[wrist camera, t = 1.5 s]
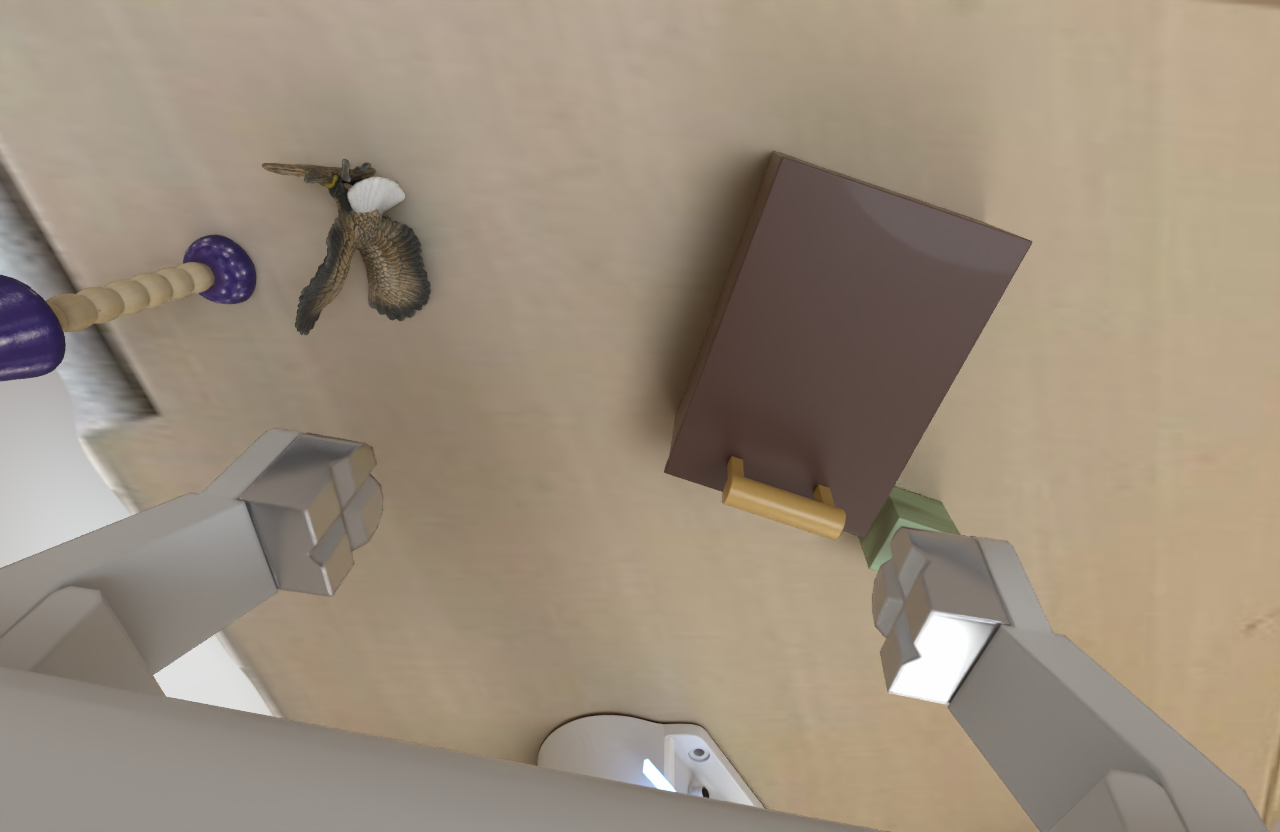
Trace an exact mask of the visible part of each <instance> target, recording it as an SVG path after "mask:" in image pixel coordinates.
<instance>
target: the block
mask: <svg viewBox="0 0 1280 832" xmlns="http://www.w3.org/2000/svg"><path fill="white" fill-rule="evenodd" d="M901 526H904V527H911V528H917V529H924V530H931V531H938V532H945V533H951V534H958V535H960V533H959V531H958V530H957V528H956V526H955V524H954V523H953V521H952V519H951V517H950V516H949V514H948V512H947V510H946V509H945V507H944V505H943V504H942V502H939V501H936V500H933V499H930V498H927V497H924V496H921V495H918V494H915V493H912V492H909V491H906V490H903V489H900V488H897V487H893V488H892V490H891V492H890V494H889V495H888V497H887V499H886V501H885V502H884V504H883V506H882V508H881V510H880V511H879V513H878V515H877V517H876V518H875V520H874V522H873V524H872V525H871V527H870V529H869V531H868V532H867V534H866V536H865V537H864V538H863V537H860V536H858V537H859V540H860V543H861V546H862V549H863V552H864V555H865V558H866V561H867V564H868V567H869V569H871V570H875V571H878V570H879V568H880V565H881V564H883V563H885V562H886V561H888V560H890V559H892V558H893V557H892V553H891V548H890V542H891V540H892V538H893V536H894V534H895V532H896V531H897V530H898V529H899V528H900V527H901Z"/></svg>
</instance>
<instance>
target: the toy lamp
mask: <svg viewBox="0 0 1280 832" xmlns="http://www.w3.org/2000/svg"><path fill="white" fill-rule="evenodd" d="M255 283H256V273H255V270H254V266H253V264H252V262H251V260H250V258H249V257H248V256H247V254H246V253H245V252H244V251H243V249H242V248H241V247H240V246H239V245H237V244H236V243H234V242H233V241H232V240H230V239H228V238H226V237H223V236H219V235H209V236H205V237H202V238H200V239H198V240H196V241H195V242H194V243H192V245H191V246H189V248H188V250H187V251H186V253H185V255H184V259H183V264H181V265H179V266H178V267H177V268H164V269H161V270H159V271H157V272H156V273H154V274H153V273H145V274H140V275H137V276H134V277H133V278H132V279H130V280H118V281H114V282H111V283H109V284H107V285H105V286H104V287H90V288H86V289H83V290H81V291H79V292H78V293H77V294H61V295H57V296H54V297H52V298H50V299H49V300H47V301H45V300H44V299H43V298H42V297H41V296H40V295H39V294H37V293H36V292H35V291H34V290H32V289H31V287H29V286H28V285H26V284H24V283H22V282H20V281H18V280H16V279H14V278H11V277H7V276H4V275H0V381H7V380H16V379H25V378H33V377H38V376H42V375H45V374H48V373H50V372H52V371H53V370H54V369H56V367H57V366H58V365H59V364H60V363H61V362H62V360H63V358H64V354H65V346H66V344H65V336H64V332H75V331H80V330H83V329H85V328H87V327H89V326H90V325H92V324H93V323H105V322H109V321H111V320H114V319H116V318H117V317H118V316H119V315H132V314H136V313H138V312H140V311H142V310H143V309H144V308H146V307H157V306H160V305H162V304H164V303H166V302H167V301H168V300H177V299H182V298H184V297H186V296H188V295H189V294H190V293H198V294H200V295H201V296H203V297H204V298H206V299H208V300H210V301H213V302H216V303H222V304H235V303H240V302H243V301H245V300H247V299H248V298H249V297H250V296H251V294H252V292H253V291H254V289H255Z"/></svg>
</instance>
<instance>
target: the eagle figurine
mask: <svg viewBox="0 0 1280 832" xmlns="http://www.w3.org/2000/svg"><path fill="white" fill-rule="evenodd" d="M262 167H263V168H264V169H265V170H267V171H271V172H274V173H277V174H282V175H293V176H297V177H305V178H304V181H305V182H306V183H319V184H321V185H322V186H325V187H327V188H328V189H329V192H330V194H331V196H332V197H333V198H334V199H335V201H336V203H337V207H338V213H339V216H338V218H336V219H335V224H333V225H332V227H331V229H330V231H329V235H328V237H327V239H326V244H327V246H328V248H327V256H326V257H325V259H324V263H323V264H321V265H320V266H319V267H318V271H317V273H316V276H315V277H314V278H312V279H311V281H310V284H309V285H308V286H306V287H305V288H304V289H303V290H302V292H301V294H302V295H301V296H300V297H299V301H300V303H299V304H298V310H297V316H296V323H295V327H296V328H297V331H298V332H300V334H301V335H303V333H304V334H305V335H308V334H309V331H310V330H311V329H313V327H314V325H315V321H317V320H318V318H319V315H320V313H321V311H322V309H323V308H324V307H326V306H327V305H328V304H329V303H330V302H331V301H332V300H333V299H334V298H335V297H336V296H337V295H338V293H339V292H340V290H341V288H342V285H343V283H344V281H345V279H346V276H347V274H348V271H349V268H350V263H351V260H352V256H353V253H354V251H355V249H356V248H357V249H358V250H359V251H360V253H361V255H362V258H363V261H364V263H365V266H366V270H367V276H368V282H369V305H370V307H371V308H373V309H374V308H375V309H377V311H378V312H379V313H380V314H381V315H384V314H386V315H387V317H388V318H389V319H390V320H394V319H398V320H399V321H403V320H404V318H405V317H406V316H407V317H409V318H411V317H412V316H413V315H414V313H415V309H416V310H418V311H419V310H421V309H422V305H425V304H427V301H428V299H429V294H430V289H429V287H430V282H428V281H427V272H426V271H425V270H424V269H423V267H424V264H423V259H422V257H421V256H420V253H421V248H420V247H421V243H420V242H419V241H418V238H417V237H416V236H415V235H414V232H413V230H412V229H411V228H409V227H408V226H407V225H400V224H399V223H398V222H396V221H394V222H392V221H391V220H390V218H389V217H386V216H384V215H383V214H384V213H385V212H386V211H388V210H389V209H390V208H392V207H393V206H395V205H396V204H398V203H400V202H402V201H403V200H404V199H405V193H404V191H403V190H402V189H401V187H400V186H399V184H398V182H396V181H394V180H390V179H388V178H385V177H378V176H373V173H374V172H375V169H373V168H370V167H371V164H370V163H367V162H366V163H364V164H363V165H362V166H360V167H358V166H357V167H356V168H354V169H349V161H348V160H346V159H343V160H342V168H336V167H323V166H315V165H289V164H276V163H264V164H262ZM343 183H347V184H350V185H352V186H353V187H351V188H350V189H349V190H348V189H346V188H345V186H344V184H343Z"/></svg>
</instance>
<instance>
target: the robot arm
mask: <svg viewBox="0 0 1280 832" xmlns="http://www.w3.org/2000/svg"><path fill="white" fill-rule="evenodd" d="M376 464H377V463H376V459H375V455H374V451H373V447H371V446H370V445H368V444H366V443H362V442H357V441H351V440H346V439H340V438H335V437H329V436H323V435H318V434H312V433H303V432H297V431H292V430H287V429H281V428H274V429H271V430H268V431H266V432H265V433H264V434H262V435H261V436H260V437H259V438H258V439H257V440H256V441H255V442H254V443H253V444H252V445H251V446H250V447H249V448H248V449H247V450H246V451H245V452H244V453H243V454H241V455H240V456H239V457H238V458H237V459H236V460H235V461H234V462H233V463H232V464H231V465H230V466H229V467H228V468H227V469H226V470H225V471H224V472H223V473H222V474H221V475H219V476H218V477H217V478H216V479H215V480H214V481H213V482H212V483H211V484H210V485H209V486H208V487H207V488H206V489H205V490H204V491H203V492H202V493H201V494H197V493H188V494H185V495H183V496H180V497H178V498H175V499H173V500H170V501H168V502H165V503H163V504H160V505H158V506H155V507H153V508H150V509H148V510H145V511H143V512H140V513H138V514H135V515H133V516H130V517H128V518H125V519H123V520H120V521H117V522H115V523H112V524H110V525H107V526H105V527H102V528H100V529H98V530H96V531H92V532H90V533H88V534H85V535H82V536H80V537H77V538H75V539H72V540H70V541H67V542H65V543H62V544H60V545H58V546H55V547H52V548H50V549H47V550H45V551H43V552H40V553H38V554H35V555H32V556H30V557H27V558H25V559H22V560H20V561H17V562H15V563H12V564H10V565H7V566H5V567H2V568H0V832H889V831H883V830H878V829H873V828H867V827H862V826H857V825H851V824H846V823H840V822H835V821H830V820H824V819H819V818H814V817H808V816H803V815H797V814H792V813H787V812H781V811H776V810H771V809H765V808H764V807H763V805H762V804H761V803H760V802H759V800H758V799H757V798H756V796H755V795H754V794H753V792H752V791H751V790H750V788H749V787H748V786H747V784H746V783H745V782H744V780H743V779H742V778H741V776H740V775H739V774H738V772H737V771H736V770H735V769H734V767H733V766H732V765H731V763H730V762H729V761H728V759H727V758H726V757H725V755H724V754H723V753H722V751H721V750H720V749H719V747H718V746H717V745H716V743H715V742H714V741H713V740H712V738H711V737H710V736H709V734H708V733H707V732H706V731H705V730H704V729H703V728H702V727H700V726H698V725H693V724H658V723H653V722H649V721H646V720H642V719H638V718H633V717H627V716H619V715H598V716H590V717H585V718H581V719H577V720H574V721H572V722H569V723H567V724H565V725H563V726H561V727H560V728H558V729H556V730H555V731H554V732H553V733H552V734H550V735H549V736H548V738H547V739H546V740H545V741H544V743H543V745H542V746H541V749H540V751H539V755H538V766H535V765H530V764H524V763H519V762H514V761H508V760H503V759H498V758H492V757H487V756H482V755H476V754H471V753H465V752H460V751H455V750H449V749H444V748H439V747H433V746H428V745H423V744H417V743H412V742H406V741H401V740H396V739H390V738H385V737H380V736H374V735H369V734H364V733H358V732H353V731H347V730H342V729H337V728H331V727H326V726H321V725H315V724H310V723H304V722H299V721H294V720H288V719H283V718H278V717H272V716H267V715H261V714H256V713H250V712H245V711H240V710H234V709H229V708H224V707H218V706H213V705H208V704H202V703H197V702H192V701H186V700H180V699H176V698H170V697H166V696H165V694H164V693H163V691H162V689H161V688H160V686H159V685H158V683H157V682H156V680H155V678H154V677H153V675H154V674H155V673H157V672H158V671H160V670H161V669H163V668H164V667H166V666H167V665H169V664H170V663H171V662H173V661H175V660H176V659H178V658H179V657H181V656H182V655H184V654H185V653H187V652H188V651H190V650H192V649H193V648H195V647H196V646H198V645H199V644H201V643H202V642H203V641H205V640H207V639H208V638H210V637H211V636H213V635H214V634H216V633H217V632H219V631H220V630H222V629H223V628H225V627H226V626H228V625H229V624H231V623H232V622H234V621H235V620H237V619H238V618H240V617H241V616H243V615H244V614H246V613H247V612H249V611H250V610H252V609H253V608H255V607H256V606H258V605H259V604H261V603H262V602H264V601H265V600H267V599H268V598H270V597H271V596H273V595H274V594H276V593H277V592H278V590H277V589H280V590H287V591H294V592H301V593H308V594H315V595H322V596H329V597H332V596H333V595H334V593H335V592H336V590H337V589H338V587H339V586H340V584H341V583H342V581H343V580H344V578H345V577H346V575H347V574H348V572H349V571H350V569H351V568H352V566H353V565H354V560H353V555H352V551H353V550H355V549H357V548H359V547H361V546H362V545H364V544H366V543H368V542H369V541H370V539H371V537H372V536H373V534H374V533H375V531H376V529H377V527H378V524H379V521H380V518H381V515H382V511H383V493H382V487H381V485H380V483H379V482H378V481H377V480H376V479H375V478H374V477H373V476H372V475H371V474H370V472H371V471H372V470H373V468H374V467H375V465H376ZM890 548H891V553H892V557H893V558H892V559H890V560H888V561H886V562H885V563H883V564H881V565H880V568H879V570H878V573H877V575H876V578H875V581H874V588H873V594H872V612H873V618H874V624H875V627H876V628H877V629H878V630H879V631H880V632H881V633H882V635H883V636H884V637H885V638H886V640H885V642H884V644H883V646H882V648H881V651H880V656H881V661H882V666H883V671H884V676H885V681H886V686H887V691H888V693H892V694H897V695H902V696H907V697H912V698H917V699H922V700H927V701H932V702H937V703H942V704H947V705H949V706H948V707H947V708H948V709H949V710H950V712H951V713H952V714H953V716H954V717H955V718H956V720H957V721H958V722H959V724H960V725H961V726H962V728H963V729H964V730H965V732H966V733H967V734H968V736H969V737H970V738H971V740H972V741H973V742H974V744H975V745H976V746H977V748H978V749H979V750H980V752H981V753H982V754H983V756H984V757H985V758H986V760H987V761H988V762H989V764H990V765H991V766H992V768H993V769H994V770H995V772H996V773H997V775H998V776H999V777H1000V779H1001V780H1002V781H1003V783H1004V784H1005V785H1006V787H1007V788H1008V789H1009V791H1010V792H1011V793H1012V795H1013V796H1014V797H1015V799H1016V800H1017V801H1018V803H1019V804H1020V805H1021V807H1022V808H1023V809H1024V811H1025V812H1026V813H1027V815H1028V816H1029V817H1030V819H1031V820H1032V821H1033V823H1034V824H1035V825H1036V827H1037V828H1038V829H1039V831H1040V832H1269V830H1268V829H1267V827H1266V825H1265V824H1264V822H1263V820H1262V819H1261V817H1260V815H1259V814H1258V812H1257V810H1256V809H1255V807H1254V805H1253V804H1252V802H1251V800H1250V798H1249V797H1248V795H1247V793H1246V792H1245V790H1244V789H1243V788H1242V787H1240V786H1239V785H1238V784H1237V783H1236V782H1235V781H1233V780H1232V779H1231V778H1230V777H1229V776H1228V775H1226V774H1225V773H1224V772H1223V771H1222V770H1221V769H1220V768H1218V767H1217V766H1216V765H1215V764H1214V763H1213V762H1211V761H1210V760H1209V759H1208V758H1207V757H1206V756H1204V755H1203V754H1202V753H1201V752H1200V751H1199V750H1197V749H1196V748H1195V747H1194V746H1193V745H1192V744H1190V743H1189V742H1188V741H1187V740H1186V739H1185V738H1183V737H1182V736H1181V735H1180V734H1179V733H1178V732H1176V731H1175V730H1174V729H1173V728H1172V727H1171V726H1170V725H1168V724H1167V723H1166V722H1165V721H1164V720H1163V719H1161V718H1160V717H1159V716H1158V715H1157V714H1156V713H1154V712H1153V711H1152V710H1151V709H1150V708H1149V707H1147V706H1146V705H1145V704H1144V703H1143V702H1142V701H1140V700H1139V699H1138V698H1137V697H1136V696H1135V695H1133V694H1132V693H1131V692H1130V691H1129V690H1128V689H1127V688H1125V687H1124V686H1123V685H1122V684H1121V683H1120V682H1118V681H1117V680H1116V679H1115V678H1114V677H1113V676H1111V675H1110V674H1109V673H1108V672H1107V671H1106V670H1104V669H1103V668H1102V667H1101V666H1100V665H1099V664H1097V663H1096V662H1095V661H1094V660H1093V659H1092V658H1090V657H1089V656H1088V655H1087V654H1086V653H1085V652H1083V651H1082V650H1081V649H1080V648H1079V647H1078V646H1077V645H1075V644H1074V643H1073V642H1072V641H1071V640H1070V639H1068V638H1067V637H1066V636H1065V635H1059V634H1054V633H1053V631H1052V629H1051V627H1050V625H1049V622H1048V620H1047V618H1046V616H1045V614H1044V612H1043V609H1042V607H1041V605H1040V603H1039V601H1038V599H1037V597H1036V594H1035V592H1034V590H1033V588H1032V586H1031V584H1030V581H1029V579H1028V577H1027V575H1026V573H1025V571H1024V568H1023V566H1022V564H1021V562H1020V560H1019V558H1018V555H1017V553H1016V551H1015V549H1014V547H1013V546H1012V545H1011V544H1010V543H1009V542H1008V541H1005V540H997V539H990V538H983V537H976V536H970V537H969V536H965V535H958V534H951V533H945V532H938V531H931V530H924V529H917V528H911V527H904V526H901V527H900V528H899V529H898V530H897V531H896V532H895V534H894V536H893V538H892V540H891V542H890Z"/></svg>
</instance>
